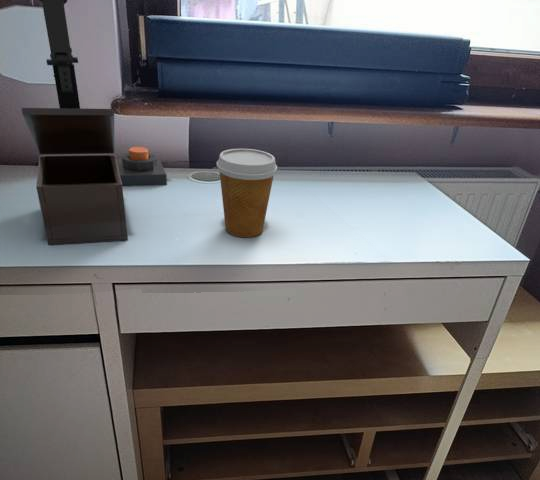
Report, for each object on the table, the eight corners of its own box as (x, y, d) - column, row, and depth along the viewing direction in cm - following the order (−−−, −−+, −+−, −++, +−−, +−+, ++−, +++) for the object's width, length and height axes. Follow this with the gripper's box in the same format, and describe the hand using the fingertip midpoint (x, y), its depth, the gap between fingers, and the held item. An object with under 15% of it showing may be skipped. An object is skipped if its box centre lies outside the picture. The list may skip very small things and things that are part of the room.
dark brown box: (128, 240, 79) (122, 184, 73) (48, 245, 75) (36, 186, 70) (120, 205, 89) (114, 153, 84) (50, 208, 86) (39, 154, 81)
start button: (128, 156, 100) (128, 146, 99) (147, 155, 101) (146, 146, 100) (130, 161, 97) (129, 152, 96) (149, 161, 98) (149, 152, 97)
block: (115, 169, 104) (113, 149, 101) (159, 168, 106) (158, 149, 104) (119, 186, 96) (117, 165, 94) (167, 185, 99) (166, 164, 97)
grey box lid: (114, 115, 69) (113, 108, 69) (22, 114, 66) (21, 107, 66) (114, 153, 84) (113, 148, 84) (39, 154, 80) (38, 148, 80)
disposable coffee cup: (260, 216, 90) (265, 146, 83) (280, 239, 83) (287, 165, 76) (209, 220, 87) (209, 148, 80) (225, 244, 80) (226, 167, 73)
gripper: (72, -109, 53) (101, 129, 68) (70, -100, 63) (96, 106, 77) (-6, -118, 51) (41, 129, 66) (4, -108, 61) (44, 106, 75)
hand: (71, 116), depth 72 cm, fingers closed
